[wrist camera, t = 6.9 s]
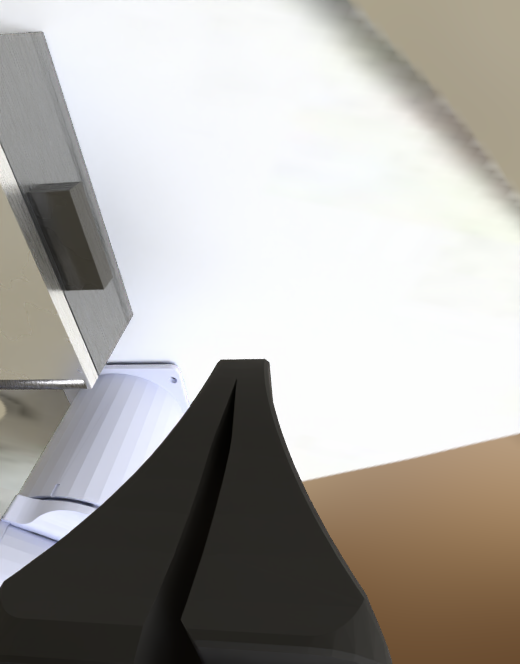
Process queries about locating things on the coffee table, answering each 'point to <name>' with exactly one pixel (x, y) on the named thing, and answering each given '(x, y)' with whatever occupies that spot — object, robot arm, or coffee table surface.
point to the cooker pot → (60, 192)
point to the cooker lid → (34, 306)
